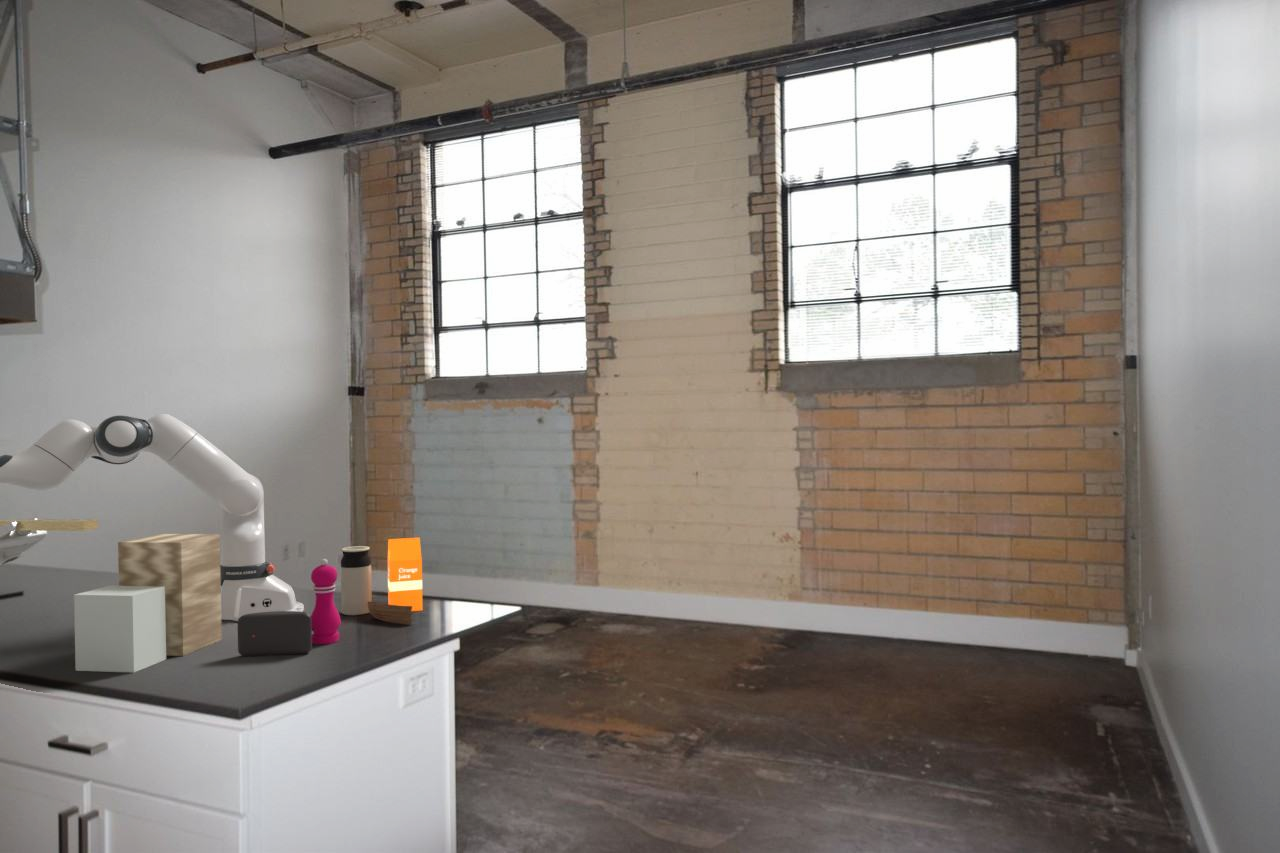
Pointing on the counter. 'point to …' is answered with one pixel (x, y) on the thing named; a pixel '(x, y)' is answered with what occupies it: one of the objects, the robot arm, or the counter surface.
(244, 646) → the red-dot charcoal block
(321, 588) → the pepper mill
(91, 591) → the pale grey block
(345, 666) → the counter surface
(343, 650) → the counter surface
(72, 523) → the tan long flat block
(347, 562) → the travel mug
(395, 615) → the wood plank
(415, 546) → the orange juice
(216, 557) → the oak pedestal
